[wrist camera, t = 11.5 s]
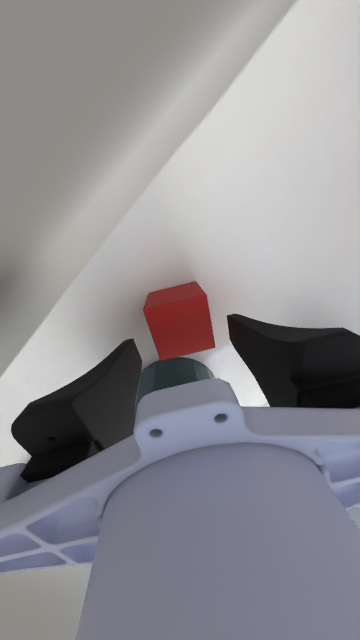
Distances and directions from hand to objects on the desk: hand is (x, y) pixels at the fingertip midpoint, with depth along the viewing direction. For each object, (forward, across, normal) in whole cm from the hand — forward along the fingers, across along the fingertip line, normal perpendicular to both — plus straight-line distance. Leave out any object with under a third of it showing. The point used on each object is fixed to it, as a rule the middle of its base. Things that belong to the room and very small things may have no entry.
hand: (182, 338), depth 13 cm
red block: (+6, 0, 0) cm, 6 cm away
